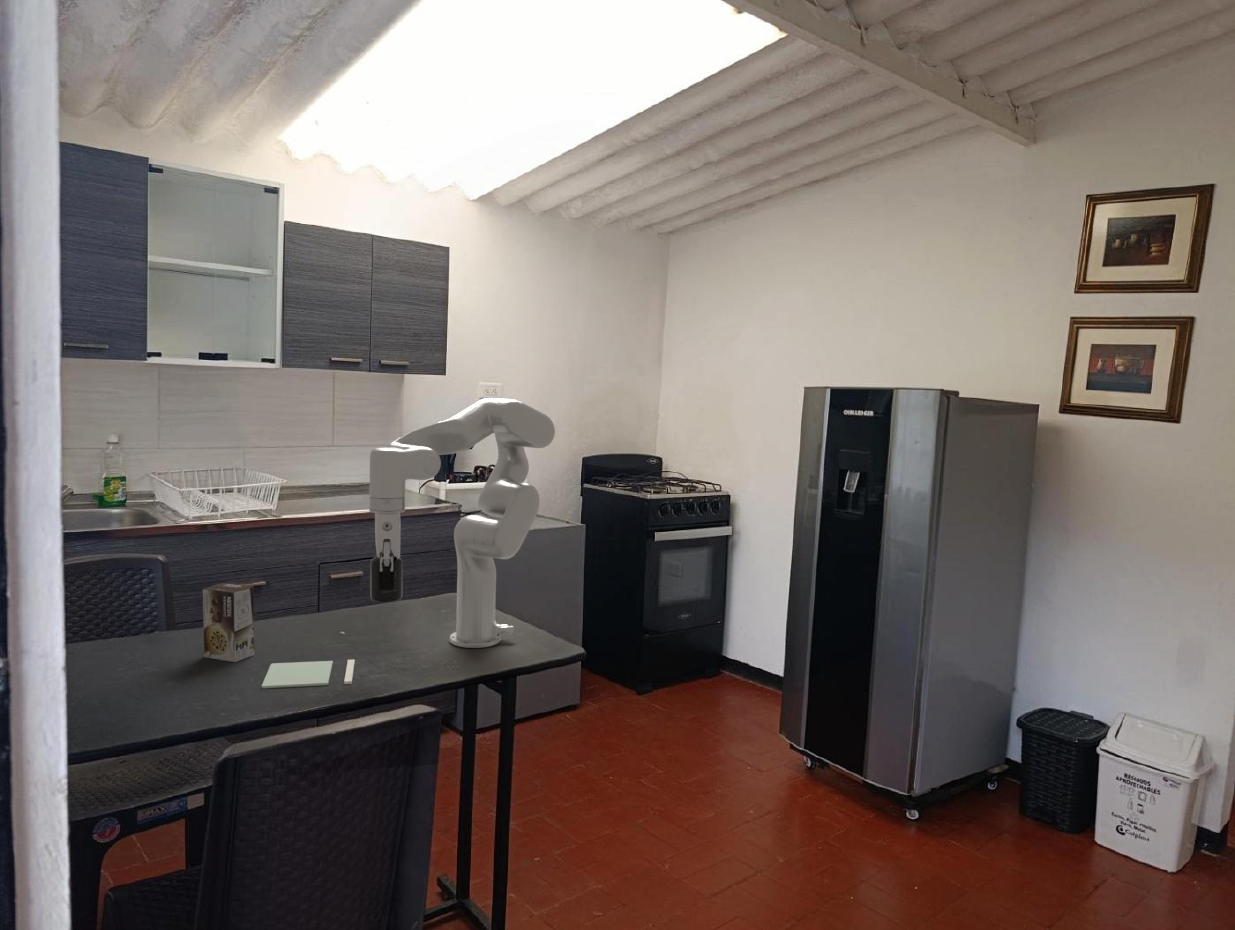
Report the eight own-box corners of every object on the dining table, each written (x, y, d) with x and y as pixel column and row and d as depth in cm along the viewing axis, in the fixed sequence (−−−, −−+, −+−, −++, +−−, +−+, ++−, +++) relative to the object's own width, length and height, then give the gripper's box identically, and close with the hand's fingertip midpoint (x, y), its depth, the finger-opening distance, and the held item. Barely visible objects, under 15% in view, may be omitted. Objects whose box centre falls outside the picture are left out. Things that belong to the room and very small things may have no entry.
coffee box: (255, 654, 195) (255, 586, 193) (234, 663, 189) (234, 592, 187) (224, 649, 198) (223, 581, 196) (202, 657, 192) (201, 587, 190)
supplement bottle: (406, 596, 189) (407, 543, 188) (395, 604, 182) (396, 549, 181) (376, 594, 190) (377, 541, 188) (364, 602, 183) (365, 547, 182)
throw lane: (354, 662, 193) (354, 659, 193) (351, 683, 179) (351, 681, 179) (271, 665, 188) (271, 663, 188) (261, 688, 175) (261, 685, 175)
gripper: (405, 511, 177) (404, 594, 178) (404, 498, 193) (403, 575, 195) (368, 511, 175) (367, 595, 176) (370, 498, 191) (369, 576, 193)
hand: (386, 584), depth 186 cm, fingers closed on supplement bottle, 6 cm apart
